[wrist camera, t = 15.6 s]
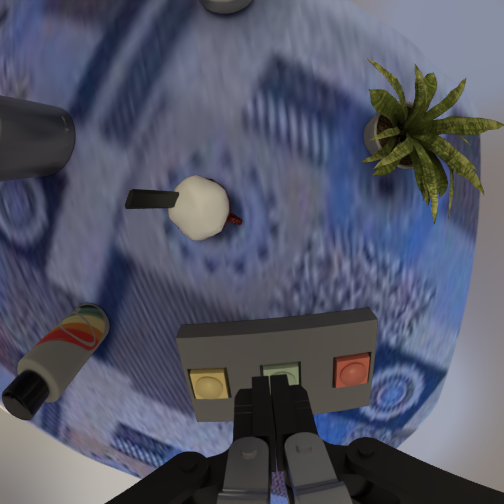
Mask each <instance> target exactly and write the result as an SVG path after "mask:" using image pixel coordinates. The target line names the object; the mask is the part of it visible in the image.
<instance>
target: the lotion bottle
mask: <svg viewBox="0 0 504 504" xmlns="http://www.w3.org/2000/svg"><path fill="white" fill-rule="evenodd" d="M109 327H110V325H109V320H108V318H107V316H106V314H105V313H104V311H103V310H102V309H101V308H100V307H98V306H96V305H94V304H91V303H84V304H81V305H80V306H78V307H77V308H76V309H75V310H73V311H72V312H71V313H70V314H69V315H68V316H67V317H66V318H64V319H63V320H62V321H61V322H60V323H59V324H58V325H57V326H56V327H55V328H54V329H52V330H51V331H50V332H49V333H48V334H47V335H46V336H45V337H44V338H43V339H42V340H41V341H40V342H39V343H38V344H36V345H35V346H34V347H33V348H32V349H31V350H30V351H29V352H28V353H27V354H26V355H25V356H24V357H23V358H22V359H21V360H20V362H19V363H18V376H17V377H16V378H15V379H14V380H13V382H12V383H11V384H10V385H9V386H8V387H7V388H6V389H5V390H4V391H3V393H2V401H3V404H4V406H5V407H6V409H7V410H8V411H9V412H10V413H11V414H12V415H13V416H15V417H17V418H19V419H22V420H31V419H32V418H33V417H34V415H35V414H36V413H37V411H38V410H39V408H40V407H41V406H42V404H43V403H44V402H54V401H56V400H57V399H58V398H59V397H60V396H61V394H62V393H63V392H64V391H65V389H66V388H67V387H68V385H69V384H70V383H71V381H72V380H73V379H74V377H75V376H76V375H77V373H78V372H79V371H80V369H81V368H82V367H83V365H84V364H85V363H86V362H87V360H88V359H89V358H90V356H91V355H92V354H93V353H94V351H95V350H96V349H97V347H98V346H99V345H100V344H101V342H102V341H103V340H104V338H105V337H106V336H107V334H108V332H109Z"/></svg>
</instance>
